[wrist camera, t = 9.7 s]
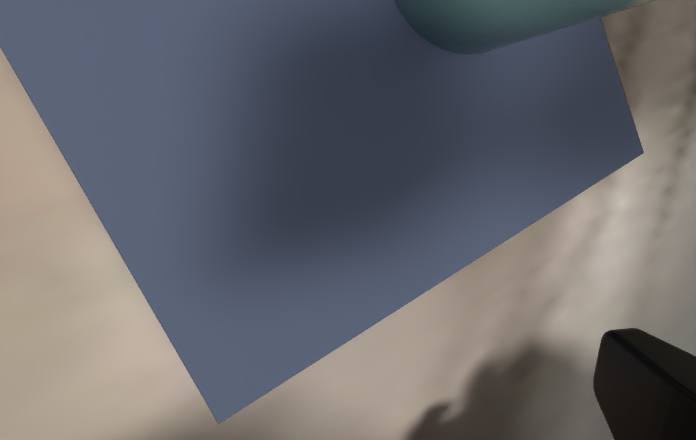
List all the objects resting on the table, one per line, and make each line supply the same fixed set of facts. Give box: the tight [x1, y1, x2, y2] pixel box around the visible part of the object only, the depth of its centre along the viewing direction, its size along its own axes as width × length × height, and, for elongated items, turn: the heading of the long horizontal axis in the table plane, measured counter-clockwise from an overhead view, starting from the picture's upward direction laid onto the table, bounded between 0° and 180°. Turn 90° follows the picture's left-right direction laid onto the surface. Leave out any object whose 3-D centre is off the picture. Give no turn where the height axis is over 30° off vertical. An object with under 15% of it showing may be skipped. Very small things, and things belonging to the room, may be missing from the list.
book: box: [0, 0, 644, 424], centre depth 19 cm, size 12×16×3 cm
